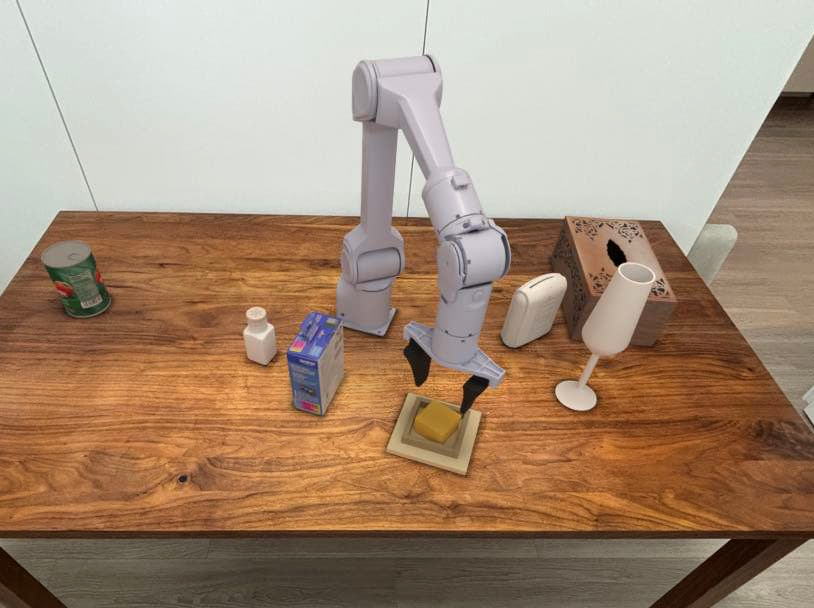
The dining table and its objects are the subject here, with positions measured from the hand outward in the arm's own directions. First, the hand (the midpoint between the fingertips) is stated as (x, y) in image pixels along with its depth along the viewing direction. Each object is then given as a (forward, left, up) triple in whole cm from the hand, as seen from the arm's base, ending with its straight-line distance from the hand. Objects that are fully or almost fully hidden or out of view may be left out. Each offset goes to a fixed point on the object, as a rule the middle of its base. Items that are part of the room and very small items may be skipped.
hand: (442, 395), depth 76 cm
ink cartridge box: (-20, +2, -8) cm, 22 cm away
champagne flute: (+20, +16, -8) cm, 27 cm away
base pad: (0, 0, -8) cm, 8 cm away
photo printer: (+10, +28, -8) cm, 31 cm away
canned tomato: (-68, +7, -8) cm, 69 cm away
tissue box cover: (+22, +44, -8) cm, 50 cm away
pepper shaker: (-32, +6, -8) cm, 34 cm away
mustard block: (0, 0, -7) cm, 7 cm away
